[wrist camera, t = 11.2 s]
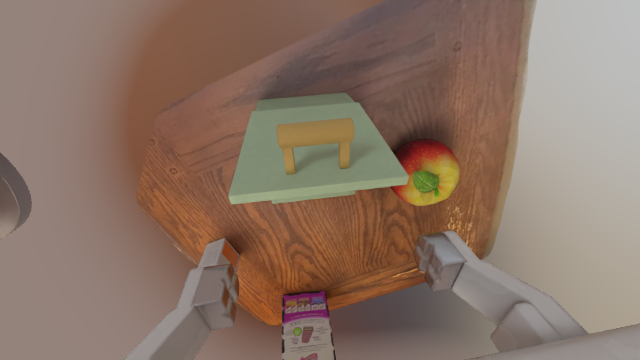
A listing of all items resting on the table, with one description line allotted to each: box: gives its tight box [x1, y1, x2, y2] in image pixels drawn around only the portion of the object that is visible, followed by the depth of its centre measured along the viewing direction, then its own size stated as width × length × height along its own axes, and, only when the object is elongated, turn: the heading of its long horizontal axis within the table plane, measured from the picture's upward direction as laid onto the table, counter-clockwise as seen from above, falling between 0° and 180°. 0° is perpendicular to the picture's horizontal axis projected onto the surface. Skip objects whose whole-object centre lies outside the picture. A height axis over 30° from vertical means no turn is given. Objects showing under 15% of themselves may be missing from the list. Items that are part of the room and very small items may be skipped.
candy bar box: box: [282, 291, 336, 360], centre depth 53 cm, size 11×5×16 cm, turn 89°
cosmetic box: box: [198, 238, 240, 274], centre depth 43 cm, size 6×4×12 cm
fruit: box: [391, 139, 460, 206], centre depth 37 cm, size 11×11×10 cm
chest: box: [254, 92, 355, 204], centre depth 34 cm, size 14×13×7 cm
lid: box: [228, 102, 409, 204], centre depth 21 cm, size 14×13×5 cm
